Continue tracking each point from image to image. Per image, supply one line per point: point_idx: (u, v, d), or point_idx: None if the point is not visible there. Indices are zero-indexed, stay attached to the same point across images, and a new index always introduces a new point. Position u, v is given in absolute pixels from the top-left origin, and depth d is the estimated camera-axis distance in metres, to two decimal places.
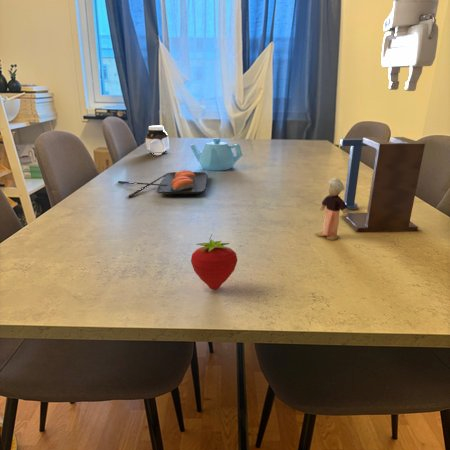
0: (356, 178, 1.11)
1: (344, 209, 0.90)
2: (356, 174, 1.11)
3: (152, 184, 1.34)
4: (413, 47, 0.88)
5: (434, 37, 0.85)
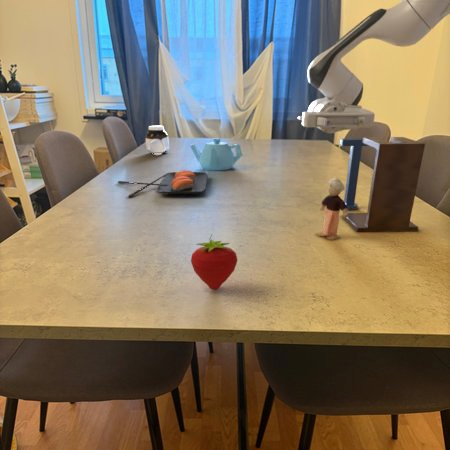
0: (356, 178, 1.11)
1: (344, 209, 0.90)
2: (356, 174, 1.11)
3: (152, 184, 1.34)
4: None
5: (302, 115, 1.24)
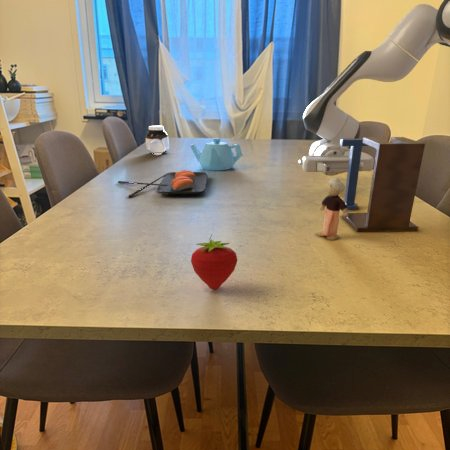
0: (356, 178, 1.11)
1: (344, 209, 0.90)
2: (356, 174, 1.11)
3: (152, 184, 1.34)
4: None
5: None
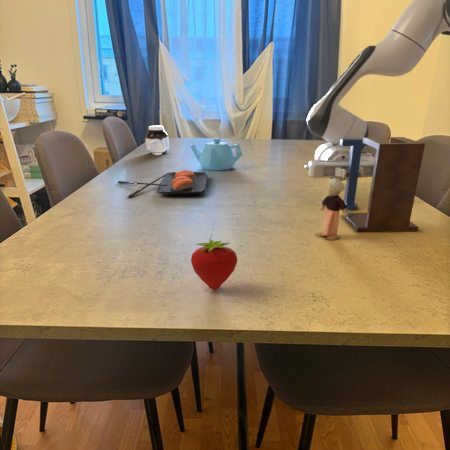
0: (356, 178, 1.11)
1: (344, 209, 0.90)
2: (356, 174, 1.11)
3: (152, 184, 1.34)
4: None
5: None
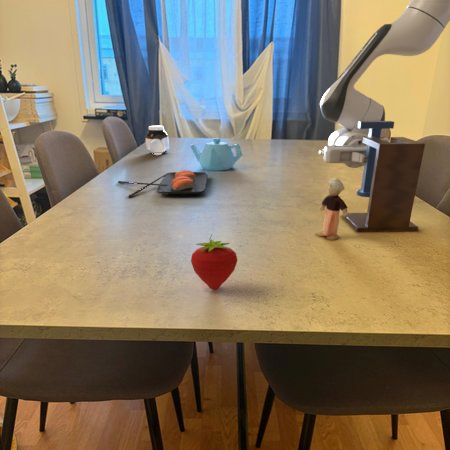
0: None
1: (344, 209, 0.90)
2: (374, 159, 1.06)
3: (152, 184, 1.34)
4: None
5: (324, 149, 1.14)
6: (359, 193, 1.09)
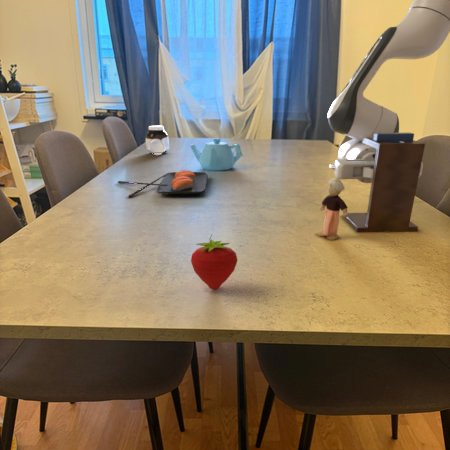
0: None
1: (344, 209, 0.90)
2: None
3: (152, 184, 1.34)
4: None
5: (335, 164, 1.04)
6: None
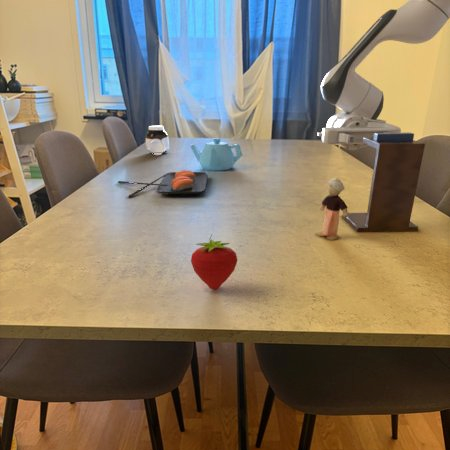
0: None
1: (344, 209, 0.90)
2: None
3: (152, 184, 1.34)
4: None
5: (322, 131, 1.16)
6: None
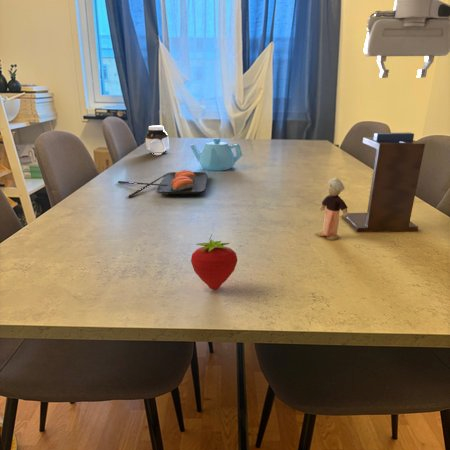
0: None
1: (344, 209, 0.90)
2: None
3: (152, 184, 1.34)
4: None
5: (370, 31, 1.01)
6: None
